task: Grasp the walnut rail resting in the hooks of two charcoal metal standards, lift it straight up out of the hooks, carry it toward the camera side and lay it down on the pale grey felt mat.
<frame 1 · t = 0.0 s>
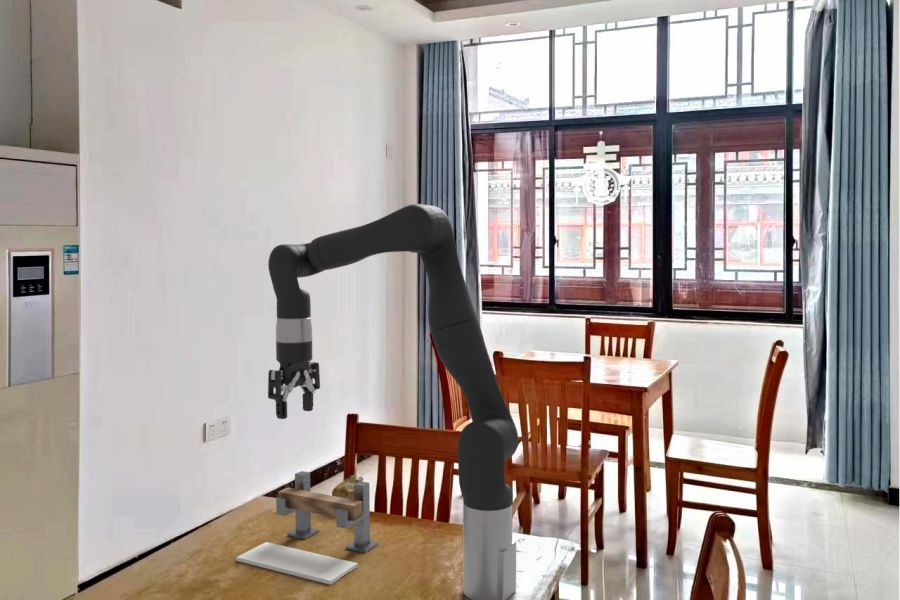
hand: (295, 414, 158), 29 cm above the table, fingers open, 8 cm apart
onion: (348, 508, 186), on the table
standard 2: (362, 546, 161), on the table
mat: (296, 563, 152), on the table
standard 1: (303, 533, 168), on the table
rail: (319, 510, 160), point 8 cm above the table, touching standard 2, standard 1
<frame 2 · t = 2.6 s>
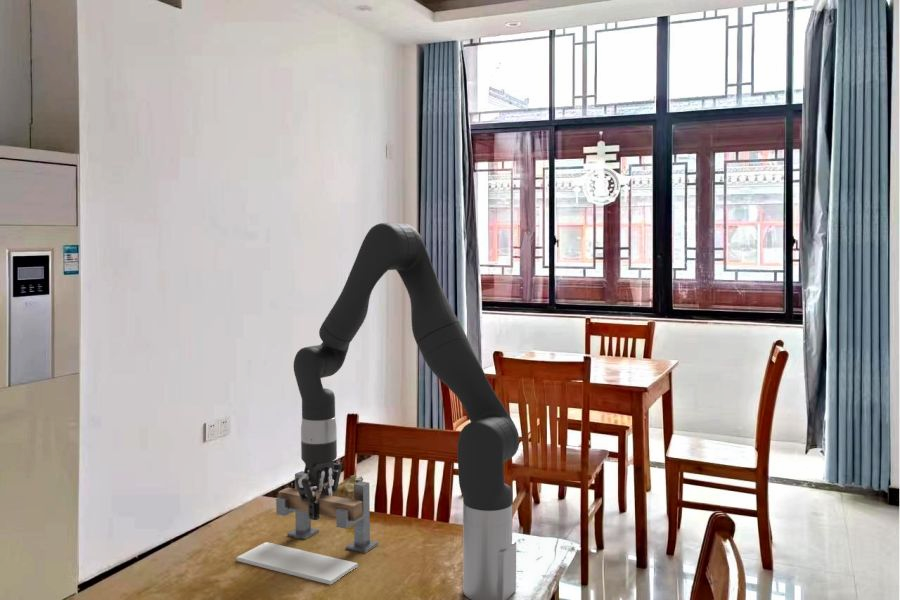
hand: (319, 516, 160), 7 cm above the table, fingers closed on rail, 3 cm apart
rail: (319, 510, 160), point 8 cm above the table, touching gripper, standard 2, standard 1
everything else where it was.
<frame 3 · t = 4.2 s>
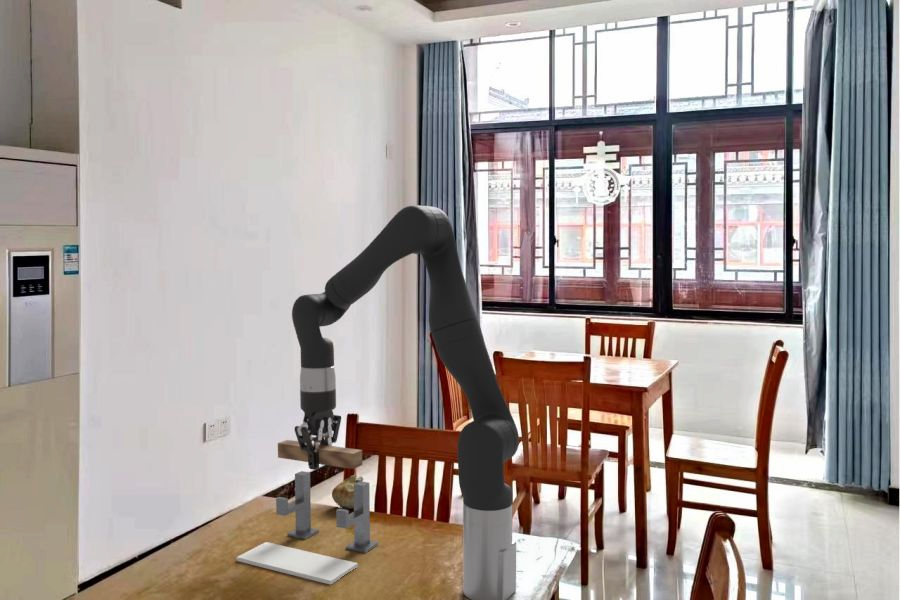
hand: (319, 466, 160), 18 cm above the table, fingers closed on rail, 3 cm apart
rail: (319, 461, 160), point 19 cm above the table, touching gripper
everything else where it was.
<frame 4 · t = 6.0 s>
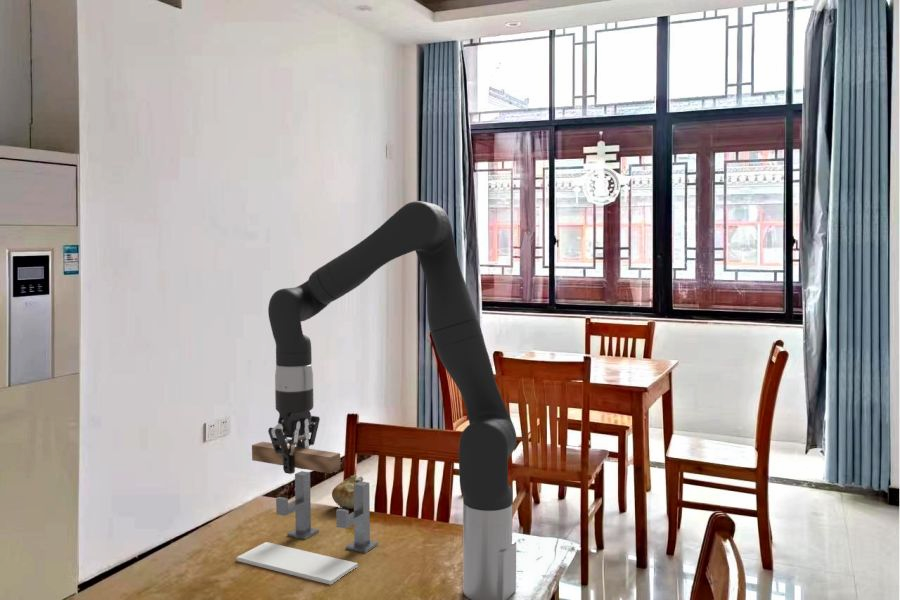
hand: (295, 470, 151), 20 cm above the table, fingers closed on rail, 3 cm apart
rail: (295, 464, 151), point 21 cm above the table, touching gripper
everything else where it was.
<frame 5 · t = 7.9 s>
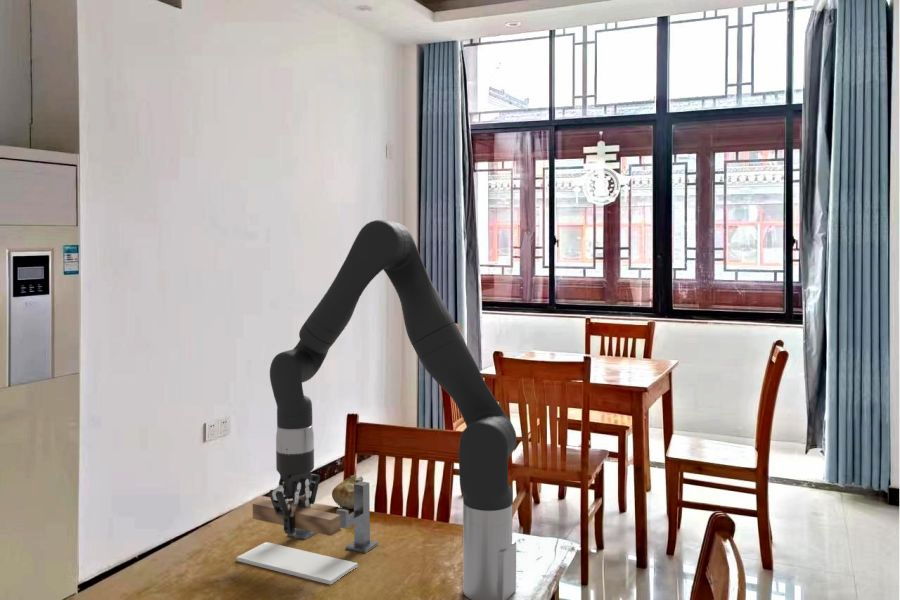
hand: (296, 529, 152), 7 cm above the table, fingers closed on rail, 3 cm apart
rail: (295, 524, 152), point 8 cm above the table, touching gripper
everything else where it was.
when the fingers open (1 cm above the table, at t = 9.4 s): rail drops 2 cm, resting on mat.
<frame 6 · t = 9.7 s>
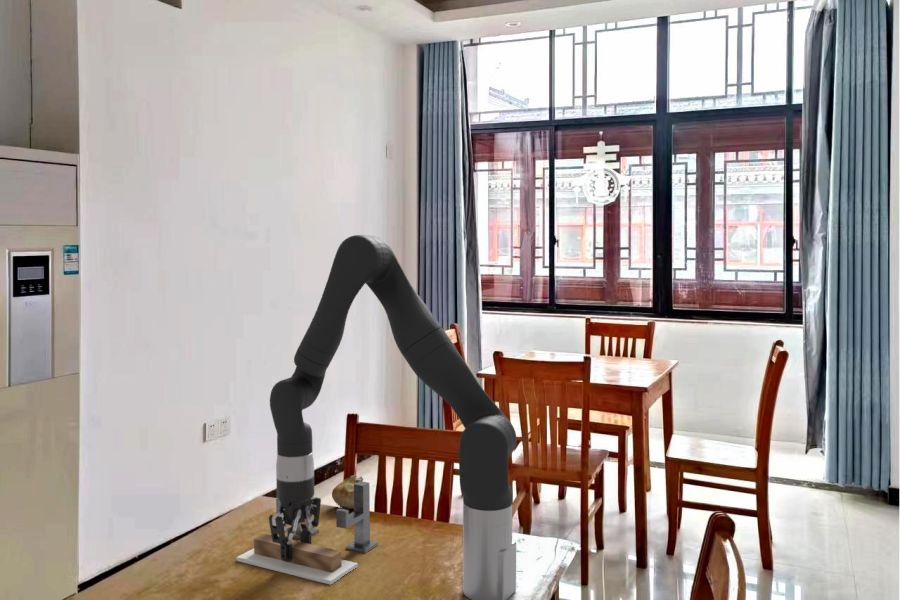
hand: (296, 555, 152), 2 cm above the table, fingers open, 5 cm apart
rail: (296, 560, 152), point 1 cm above the table, touching mat
everything else where it was.
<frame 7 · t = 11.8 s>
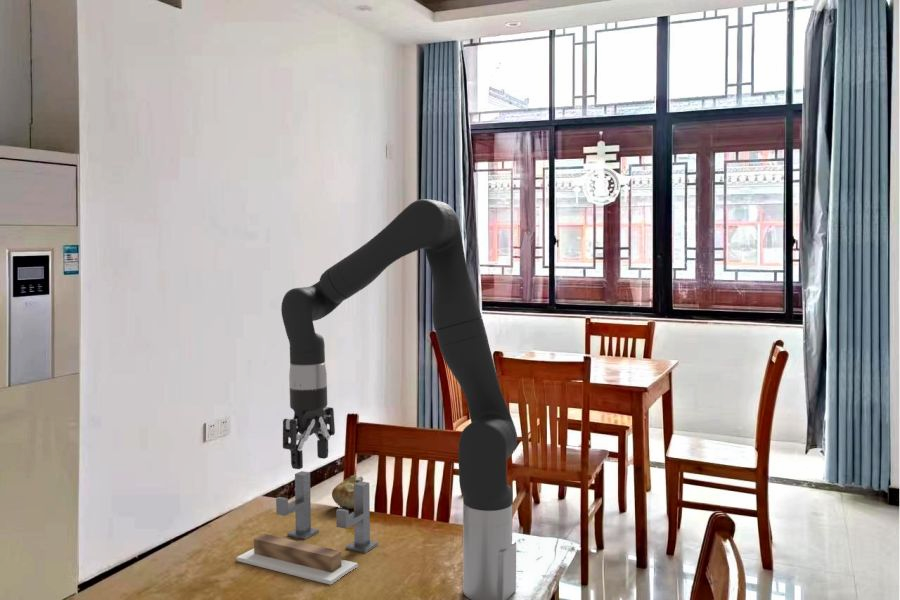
hand: (310, 463, 153), 21 cm above the table, fingers open, 8 cm apart
nothing on the table moved.
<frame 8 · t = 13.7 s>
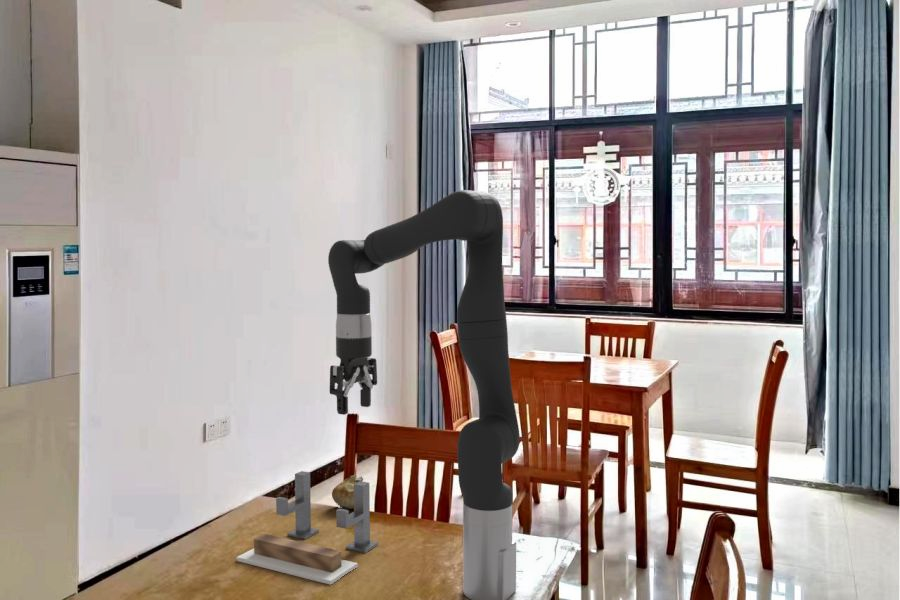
hand: (354, 410, 159), 30 cm above the table, fingers open, 8 cm apart
nothing on the table moved.
at the end: rail inside the target area on the mat (0.1 cm from its centre), point 0.8 cm above the mat's base; rail point 0.8 cm above the table; the gripper is holding nothing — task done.
